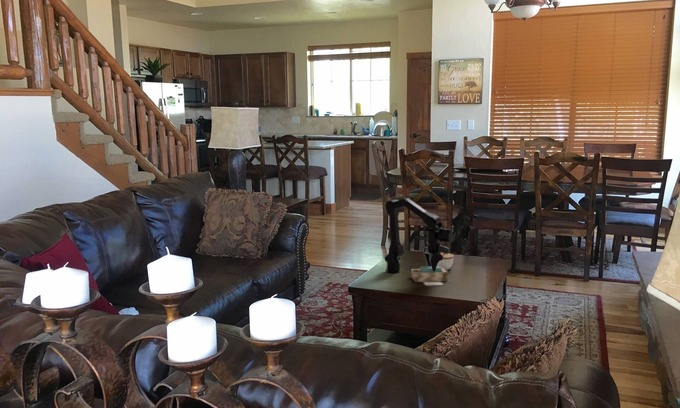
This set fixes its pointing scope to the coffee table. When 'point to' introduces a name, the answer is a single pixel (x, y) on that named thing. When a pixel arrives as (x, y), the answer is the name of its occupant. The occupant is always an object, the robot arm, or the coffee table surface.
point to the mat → (432, 283)
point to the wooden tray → (429, 275)
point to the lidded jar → (446, 261)
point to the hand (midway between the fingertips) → (431, 269)
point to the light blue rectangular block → (429, 269)
